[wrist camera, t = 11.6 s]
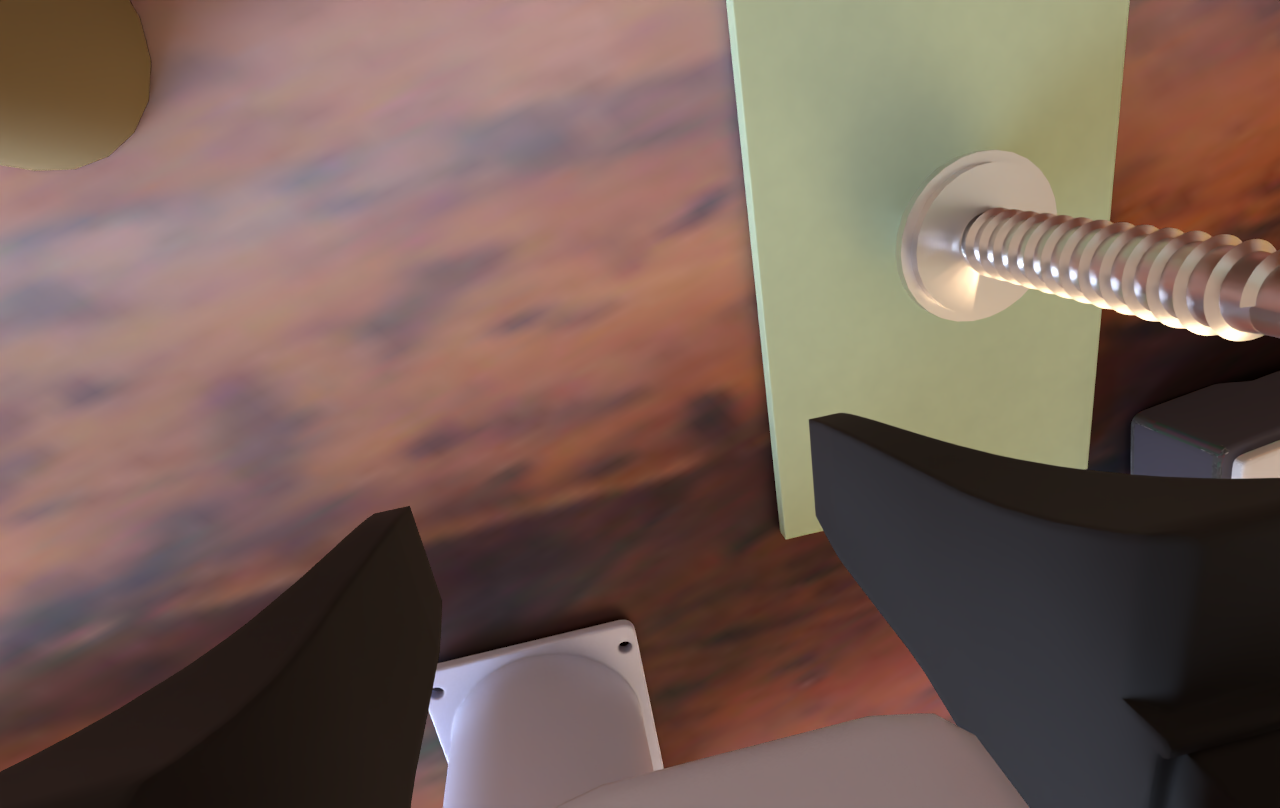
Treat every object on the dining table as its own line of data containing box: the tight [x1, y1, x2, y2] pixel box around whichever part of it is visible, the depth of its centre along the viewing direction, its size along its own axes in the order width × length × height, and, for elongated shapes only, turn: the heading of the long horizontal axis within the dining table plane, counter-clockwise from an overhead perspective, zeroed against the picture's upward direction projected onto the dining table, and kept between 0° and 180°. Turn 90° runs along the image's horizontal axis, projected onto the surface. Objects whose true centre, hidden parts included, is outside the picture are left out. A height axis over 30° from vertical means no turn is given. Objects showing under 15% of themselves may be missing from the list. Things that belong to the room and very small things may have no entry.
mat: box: [726, 0, 1130, 539], centre depth 22 cm, size 20×12×1 cm, turn 9°
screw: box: [895, 150, 1280, 341], centre depth 16 cm, size 13×5×5 cm
